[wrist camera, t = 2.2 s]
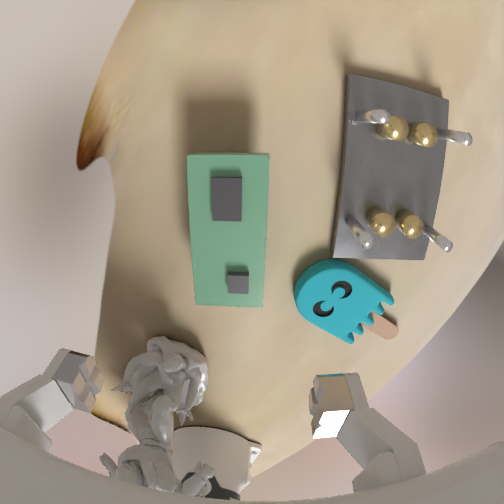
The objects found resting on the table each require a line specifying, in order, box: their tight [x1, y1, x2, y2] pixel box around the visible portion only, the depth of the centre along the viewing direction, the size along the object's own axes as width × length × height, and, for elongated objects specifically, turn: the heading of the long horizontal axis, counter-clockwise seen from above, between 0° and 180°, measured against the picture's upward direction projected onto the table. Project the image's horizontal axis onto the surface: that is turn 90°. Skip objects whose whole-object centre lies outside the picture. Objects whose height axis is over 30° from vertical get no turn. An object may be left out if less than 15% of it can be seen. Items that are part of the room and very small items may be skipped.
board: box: [187, 152, 270, 307], centre depth 21 cm, size 12×6×2 cm, turn 179°
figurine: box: [100, 336, 216, 498], centre depth 26 cm, size 18×13×18 cm
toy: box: [294, 259, 399, 344], centre depth 28 cm, size 7×2×15 cm
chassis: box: [331, 74, 472, 260], centre depth 20 cm, size 16×10×6 cm, turn 179°
